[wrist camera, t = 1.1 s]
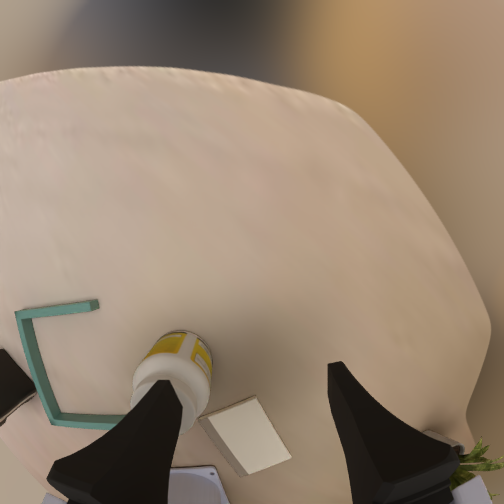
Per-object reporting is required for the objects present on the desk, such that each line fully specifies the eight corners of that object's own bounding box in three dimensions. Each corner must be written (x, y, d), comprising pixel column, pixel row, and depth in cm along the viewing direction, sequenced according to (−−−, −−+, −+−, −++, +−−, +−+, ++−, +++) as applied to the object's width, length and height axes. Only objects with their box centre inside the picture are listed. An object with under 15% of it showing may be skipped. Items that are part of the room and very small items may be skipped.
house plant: (347, 491, 25) (399, 572, 8) (393, 407, 25) (486, 478, 9) (422, 478, 26) (478, 531, 10) (463, 403, 27) (541, 444, 10)
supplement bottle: (145, 368, 23) (109, 420, 13) (167, 319, 24) (133, 352, 14) (198, 393, 24) (188, 457, 14) (223, 345, 24) (223, 394, 14)
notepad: (290, 454, 24) (291, 457, 23) (239, 473, 24) (240, 477, 23) (255, 395, 24) (256, 398, 23) (198, 417, 23) (198, 420, 23)
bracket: (132, 421, 23) (128, 430, 21) (58, 418, 22) (51, 424, 20) (97, 299, 23) (89, 302, 21) (24, 309, 22) (14, 311, 20)
